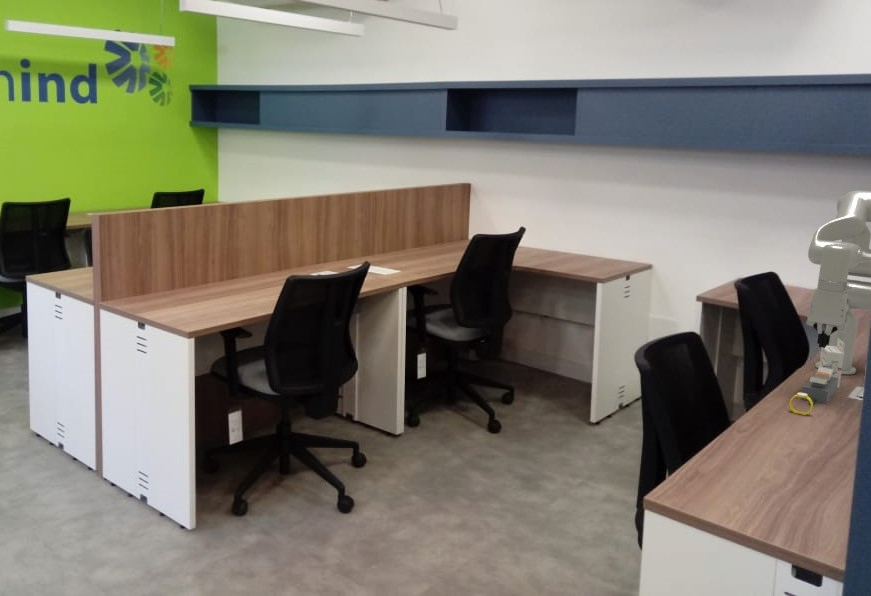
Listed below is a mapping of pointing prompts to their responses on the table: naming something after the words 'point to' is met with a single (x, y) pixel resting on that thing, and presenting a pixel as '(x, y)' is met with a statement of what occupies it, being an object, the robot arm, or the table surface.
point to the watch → (802, 397)
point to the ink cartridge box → (833, 359)
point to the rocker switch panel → (820, 390)
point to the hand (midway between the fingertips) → (822, 346)
